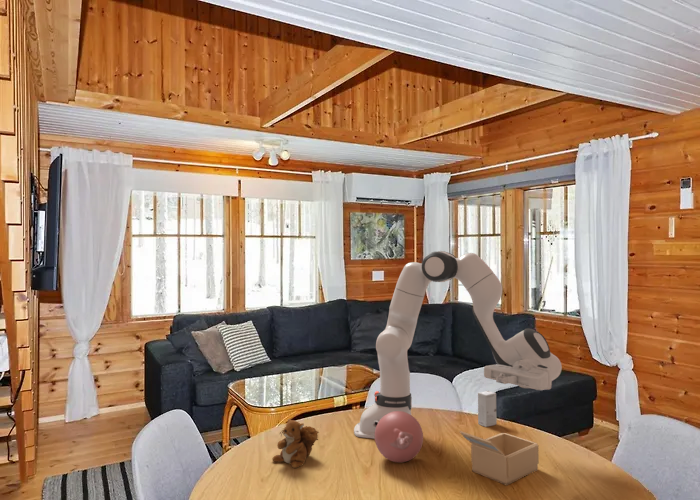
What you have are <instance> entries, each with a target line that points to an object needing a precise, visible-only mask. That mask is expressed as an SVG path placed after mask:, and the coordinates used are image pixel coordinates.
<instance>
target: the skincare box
mask: <svg viewBox="0 0 700 500" xmlns="http://www.w3.org/2000/svg"><path fill="white" fill-rule="evenodd" d="M477 414H478V415H477V418H478V419H477V420H478V425H479V426H482V427H485V428H488V427H492V426H495V425H497V423H498V421H497V418H498V417H497V393H496V392H494V391H490V390H486V391H479V392H477Z"/></svg>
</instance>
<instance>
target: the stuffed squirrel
mask: <svg viewBox="0 0 700 500" xmlns="http://www.w3.org/2000/svg"><path fill="white" fill-rule="evenodd" d="M319 433H320V432H319V431H317V430H316V428H315V427H312V426H307V425H306V426H305V424H304V423H300V422H299V421H297V420H293V419H291V418H289V419H287V422H286V424H285V426H284V428H283V430H281V431H280V432H279V435H280V437H282V435H284V438H282V439H281V440H280V441H278V442H277V445H276V446H277V448H278V450H281V452H280V454H277V455H274V456H273V457H272V459H271V460H272V462H273V461H274V462H273V463H280V462H282V463H283V462H285V463H286V464H289V463H291V464H290V465H291V467H292V468H293V469H297V467H298V468H300V467H301V466H303V465H304V464H305V462H306V459H307V457H308V456H310V455H311V452H312V450H313V446H314V445H315V443H316V442H317V441H319V436H318V434H319ZM302 464H303V465H302ZM299 466H300V467H299Z"/></svg>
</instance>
